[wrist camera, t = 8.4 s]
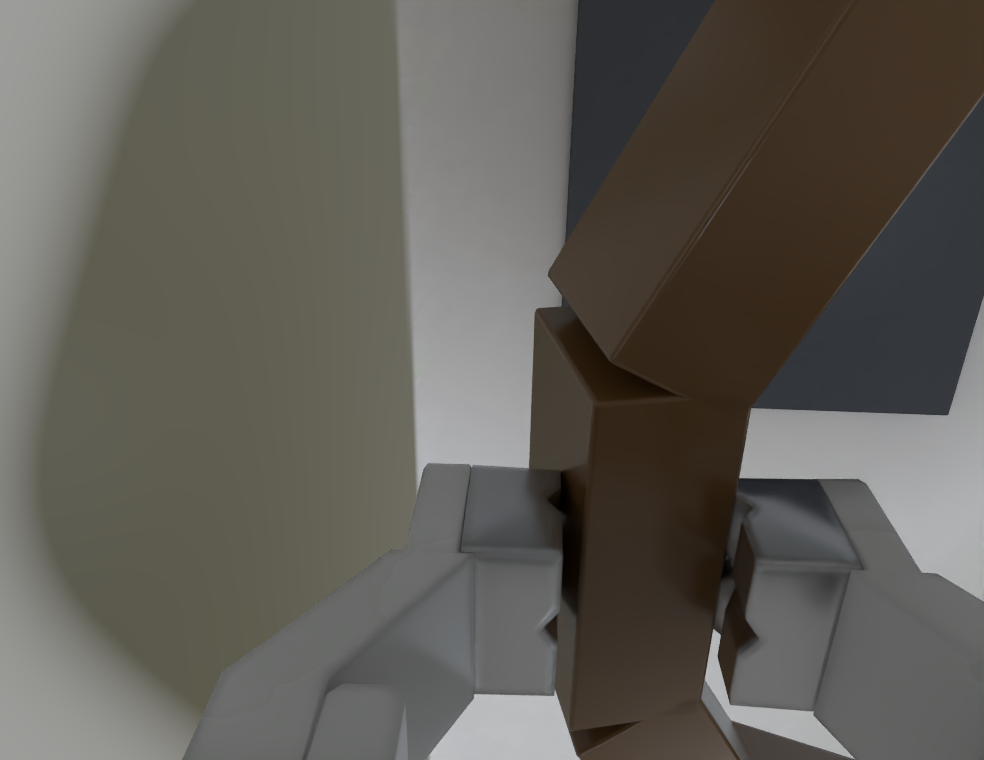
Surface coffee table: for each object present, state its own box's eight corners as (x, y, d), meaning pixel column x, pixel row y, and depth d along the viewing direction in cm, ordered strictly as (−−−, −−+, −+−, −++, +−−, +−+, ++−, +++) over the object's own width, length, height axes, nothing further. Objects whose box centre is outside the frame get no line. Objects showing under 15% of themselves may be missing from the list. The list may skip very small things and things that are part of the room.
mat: (586, -153, 22) (587, -155, 21) (1106, -148, 21) (1116, -150, 21) (556, 395, 29) (557, 401, 29) (943, 409, 28) (948, 415, 28)
